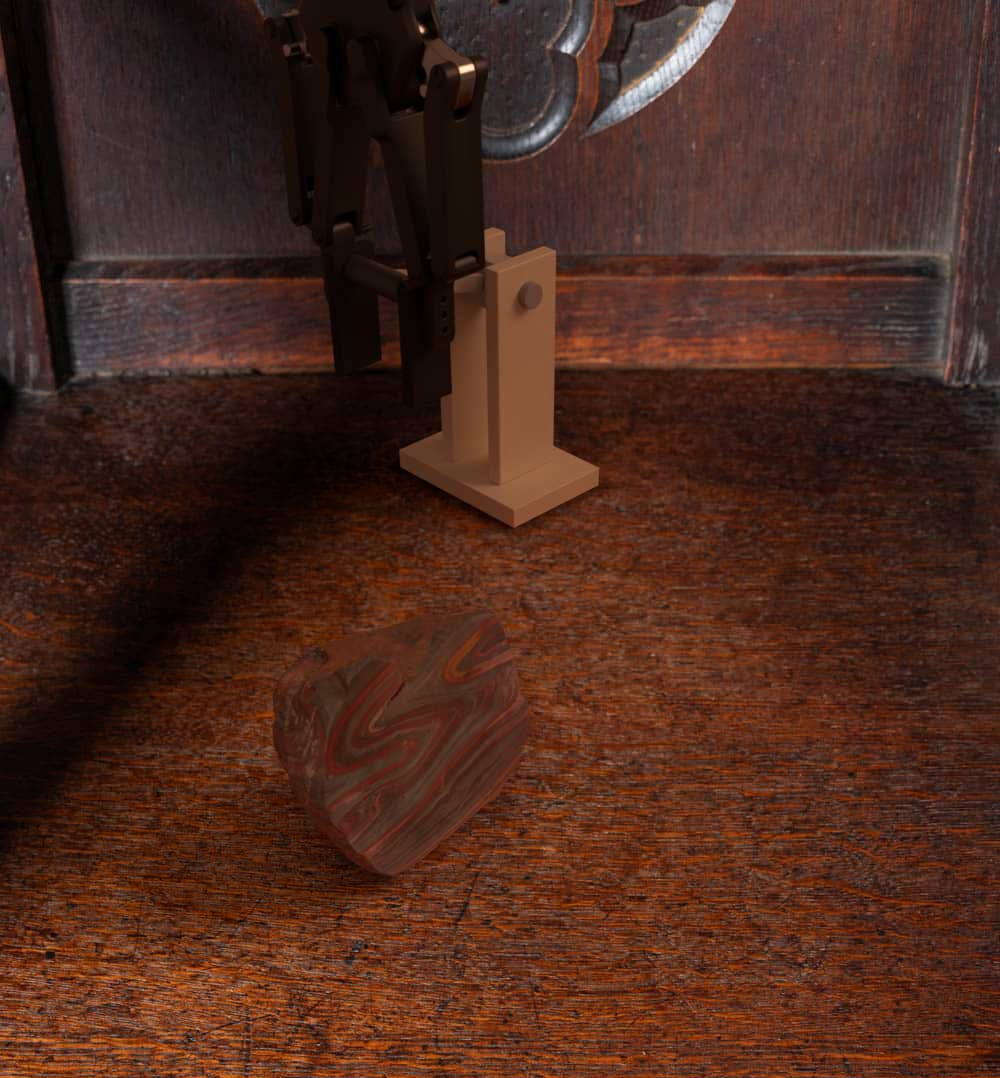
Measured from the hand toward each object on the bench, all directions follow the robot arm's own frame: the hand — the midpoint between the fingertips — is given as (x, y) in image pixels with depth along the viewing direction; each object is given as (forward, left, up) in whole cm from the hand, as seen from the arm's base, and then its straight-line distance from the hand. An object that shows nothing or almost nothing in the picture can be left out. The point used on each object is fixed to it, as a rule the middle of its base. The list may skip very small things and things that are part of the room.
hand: (392, 381), depth 77 cm
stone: (+18, -16, -9) cm, 26 cm away
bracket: (0, +8, -9) cm, 12 cm away
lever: (0, +4, +3) cm, 5 cm away
